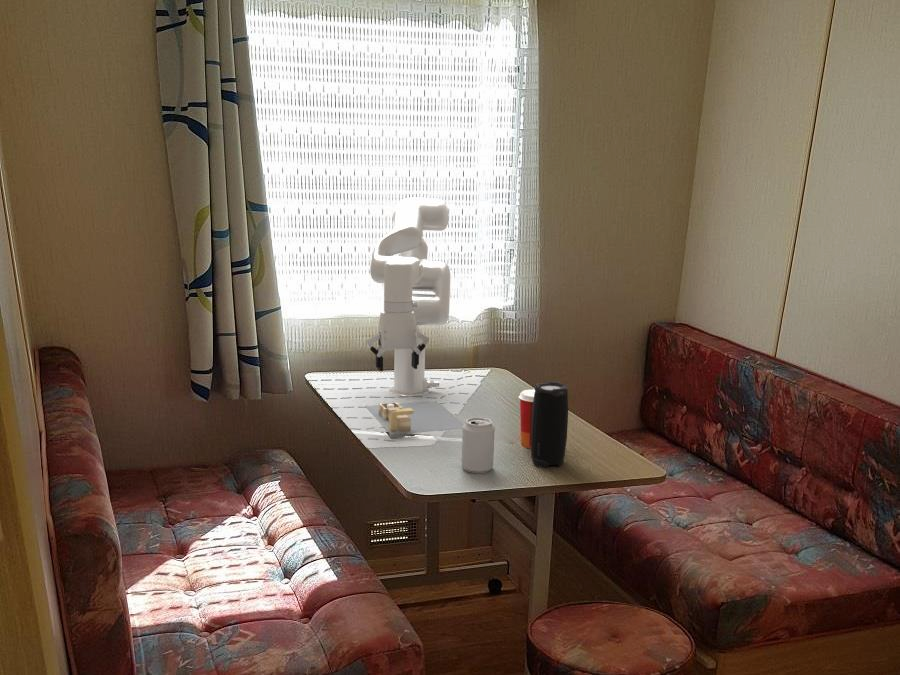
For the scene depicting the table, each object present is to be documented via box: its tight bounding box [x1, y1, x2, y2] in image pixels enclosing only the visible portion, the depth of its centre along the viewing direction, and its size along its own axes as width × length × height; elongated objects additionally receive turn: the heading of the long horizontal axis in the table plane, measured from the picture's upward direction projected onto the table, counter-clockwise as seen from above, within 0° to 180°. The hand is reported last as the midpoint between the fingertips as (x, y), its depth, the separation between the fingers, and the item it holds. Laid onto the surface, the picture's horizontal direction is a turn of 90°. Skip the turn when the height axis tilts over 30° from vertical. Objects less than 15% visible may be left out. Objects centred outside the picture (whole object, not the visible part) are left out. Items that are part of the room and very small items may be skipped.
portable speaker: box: [530, 381, 569, 469], centre depth 196 cm, size 9×9×20 cm
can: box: [461, 417, 496, 474], centre depth 191 cm, size 8×8×12 cm
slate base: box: [365, 400, 466, 439], centre depth 228 cm, size 22×27×6 cm
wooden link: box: [378, 401, 411, 431], centre depth 223 cm, size 17×5×3 cm, turn 20°
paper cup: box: [518, 389, 535, 449], centre depth 209 cm, size 8×8×14 cm
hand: (397, 368), depth 221 cm, fingers open, 9 cm apart
